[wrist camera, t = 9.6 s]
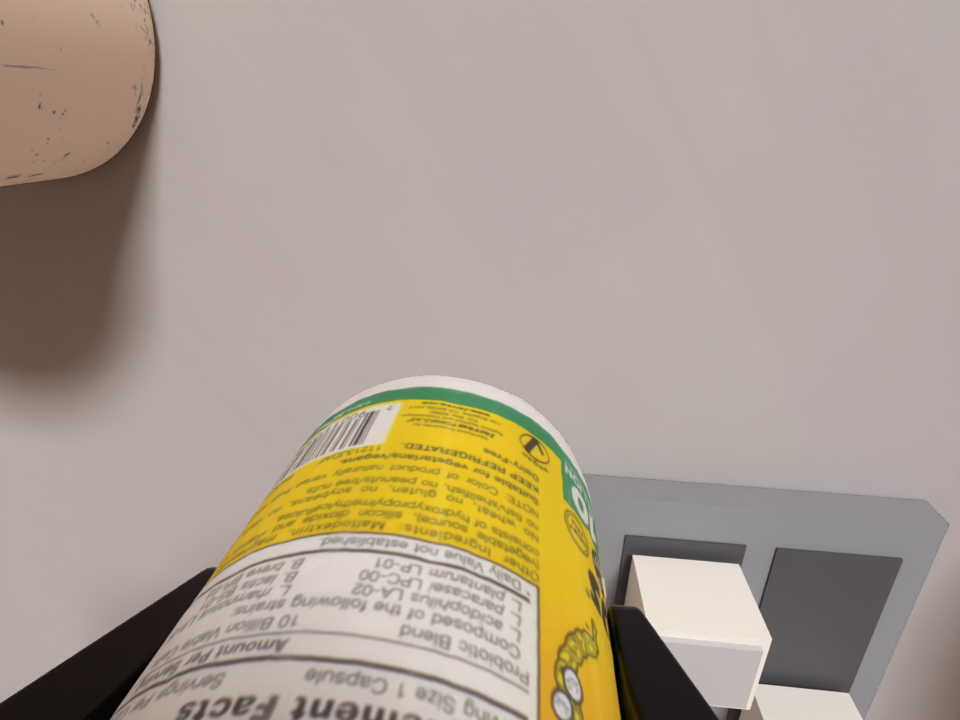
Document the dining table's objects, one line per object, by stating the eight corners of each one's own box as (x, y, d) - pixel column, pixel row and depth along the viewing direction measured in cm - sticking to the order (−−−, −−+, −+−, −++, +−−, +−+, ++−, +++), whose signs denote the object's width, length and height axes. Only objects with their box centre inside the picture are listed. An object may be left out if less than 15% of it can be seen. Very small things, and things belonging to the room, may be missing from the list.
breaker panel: (926, 500, 19) (966, 541, 17) (818, 765, 25) (840, 816, 23) (348, 456, 21) (329, 489, 19) (367, 714, 26) (354, 758, 25)
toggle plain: (738, 564, 19) (774, 645, 16) (721, 629, 20) (752, 716, 17) (632, 554, 19) (649, 632, 16) (621, 620, 21) (635, 703, 18)
